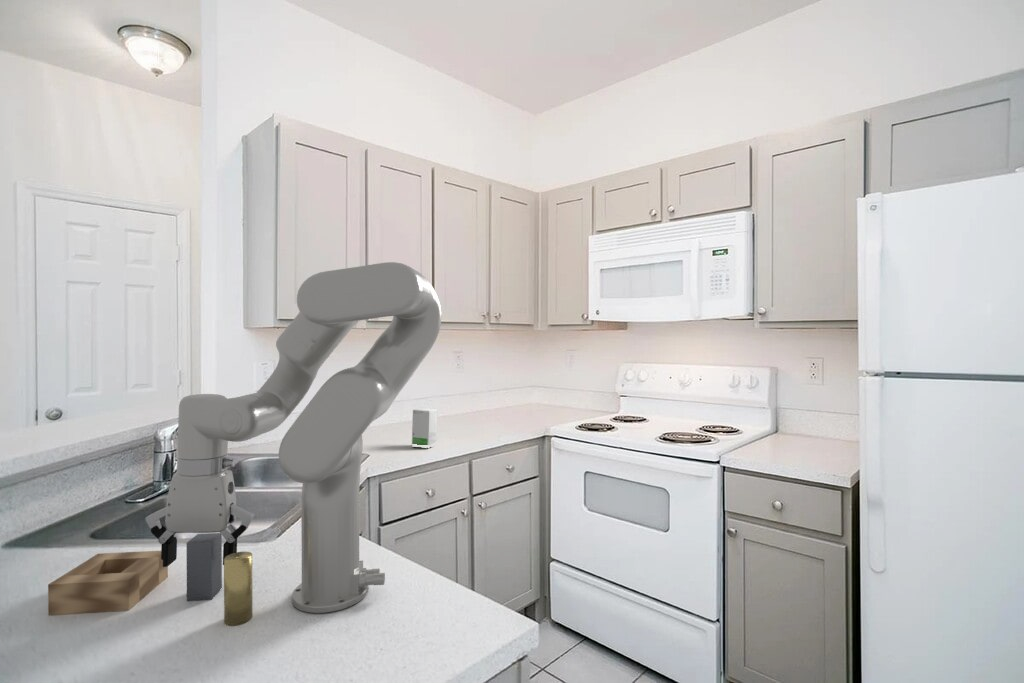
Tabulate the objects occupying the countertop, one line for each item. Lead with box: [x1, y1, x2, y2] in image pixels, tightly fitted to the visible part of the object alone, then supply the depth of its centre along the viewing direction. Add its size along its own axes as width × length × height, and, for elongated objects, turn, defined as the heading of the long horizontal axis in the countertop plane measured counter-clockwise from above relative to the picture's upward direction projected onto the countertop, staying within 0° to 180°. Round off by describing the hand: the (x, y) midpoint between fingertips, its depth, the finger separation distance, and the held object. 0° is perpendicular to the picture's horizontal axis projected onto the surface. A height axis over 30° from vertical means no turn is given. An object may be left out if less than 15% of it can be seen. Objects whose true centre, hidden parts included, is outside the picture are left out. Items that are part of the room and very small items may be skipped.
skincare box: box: [411, 407, 438, 445], centre depth 211 cm, size 8×7×16 cm
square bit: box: [186, 532, 223, 602], centre depth 90 cm, size 4×4×10 cm
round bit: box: [223, 551, 254, 627], centre depth 82 cm, size 4×4×10 cm
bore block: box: [47, 550, 169, 616], centre depth 90 cm, size 12×12×5 cm
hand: (199, 562), depth 90 cm, fingers open, 9 cm apart
